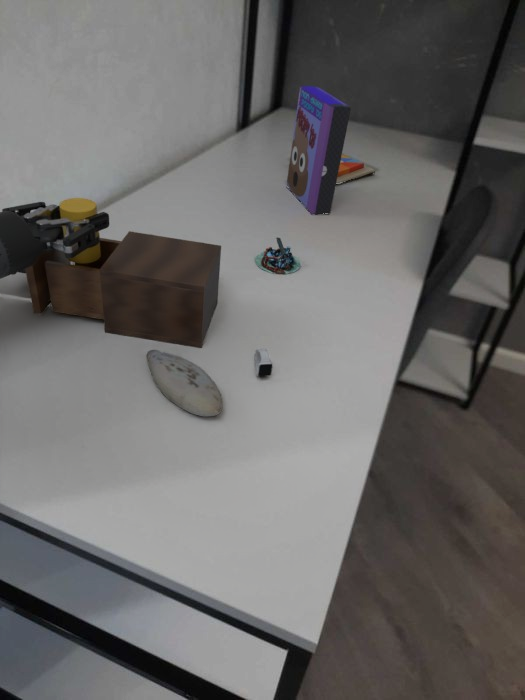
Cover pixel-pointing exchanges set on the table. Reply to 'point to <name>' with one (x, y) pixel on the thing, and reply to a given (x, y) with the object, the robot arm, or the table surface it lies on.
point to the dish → (278, 260)
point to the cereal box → (317, 148)
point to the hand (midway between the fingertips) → (93, 212)
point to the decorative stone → (185, 383)
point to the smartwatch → (263, 362)
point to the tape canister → (76, 211)
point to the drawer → (68, 283)
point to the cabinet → (160, 288)
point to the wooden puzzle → (351, 169)
